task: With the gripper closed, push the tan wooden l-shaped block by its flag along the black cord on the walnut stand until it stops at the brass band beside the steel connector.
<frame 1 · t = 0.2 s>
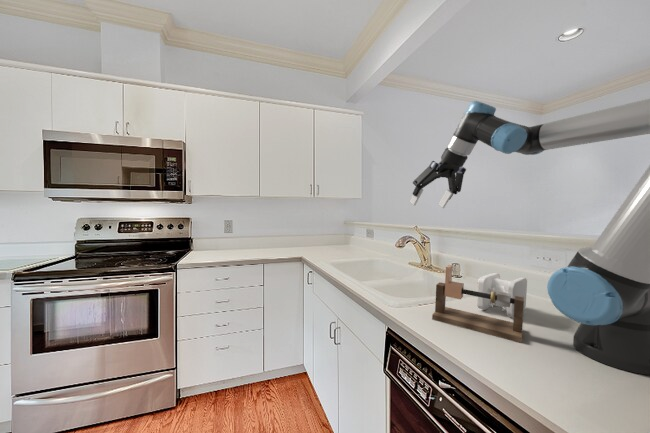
hand: (427, 204, 100), 35 cm above the worktop, tool tilted 35°, fingers open, 13 cm apart
cord stand: (475, 324, 79), on the worktop
cable organizer: (500, 311, 91), on the worktop
tan wooden l-shaped block: (454, 281, 83), point 12 cm above the worktop, slide at 0.0 cm
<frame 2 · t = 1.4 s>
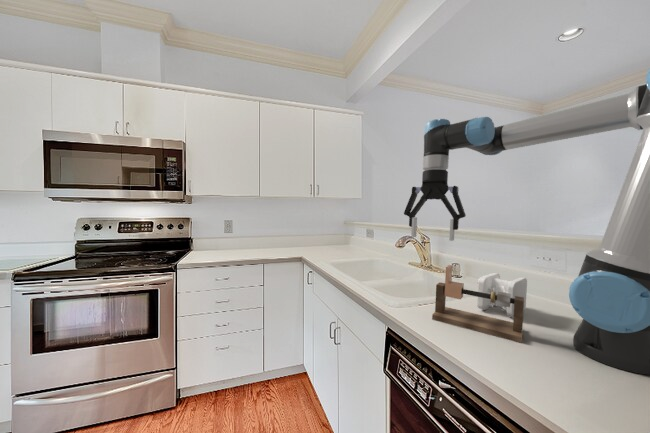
hand: (431, 238, 87), 24 cm above the worktop, tool pointing down, fingers open, 11 cm apart
nothing on the worktop moved.
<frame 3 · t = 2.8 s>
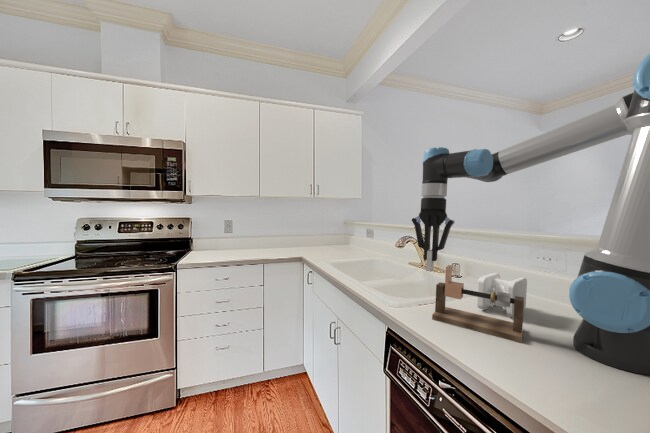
hand: (429, 270, 87), 14 cm above the worktop, tool pointing down, fingers closed
nothing on the worktop moved.
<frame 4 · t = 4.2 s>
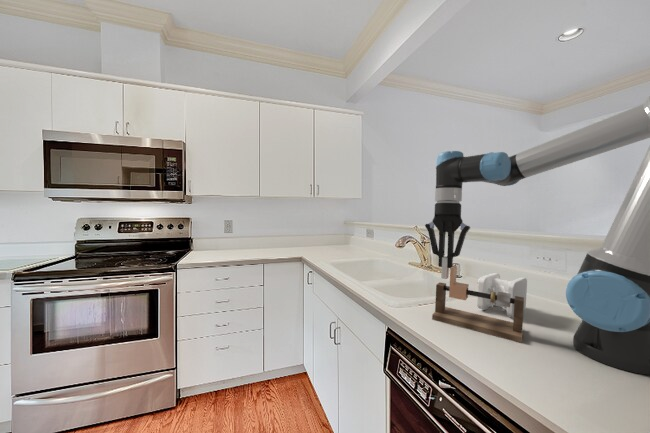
hand: (444, 277, 84), 12 cm above the worktop, tool pointing down, fingers closed
tan wooden l-shaped block: (459, 282, 82), point 12 cm above the worktop, slide at 1.3 cm, touching gripper
everything else where it was.
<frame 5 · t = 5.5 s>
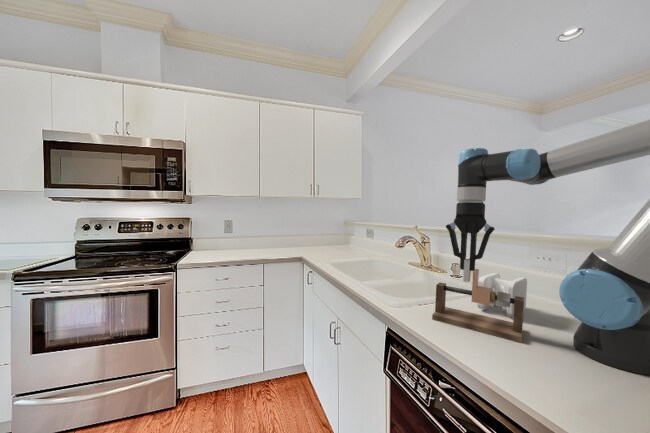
hand: (466, 280, 81), 12 cm above the worktop, tool pointing down, fingers closed
tan wooden l-shaped block: (482, 286, 78), point 12 cm above the worktop, slide at 7.3 cm, touching gripper
everything else where it was.
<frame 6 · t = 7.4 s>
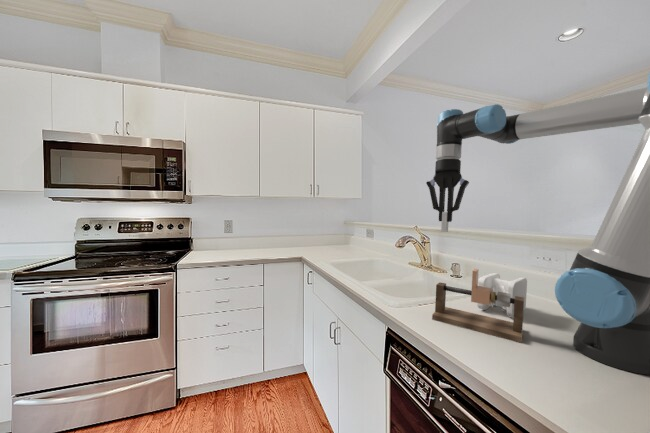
hand: (444, 231, 89), 26 cm above the worktop, tool pointing down, fingers closed
tan wooden l-shaped block: (481, 286, 78), point 12 cm above the worktop, slide at 7.2 cm
everything else where it was.
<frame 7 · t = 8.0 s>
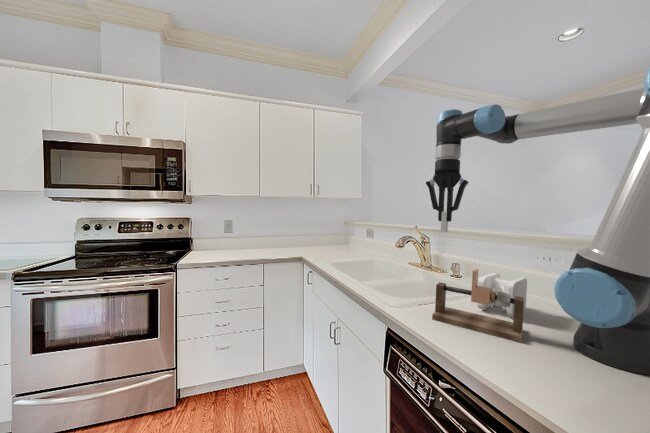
hand: (444, 231, 89), 26 cm above the worktop, tool pointing down, fingers closed
nothing on the worktop moved.
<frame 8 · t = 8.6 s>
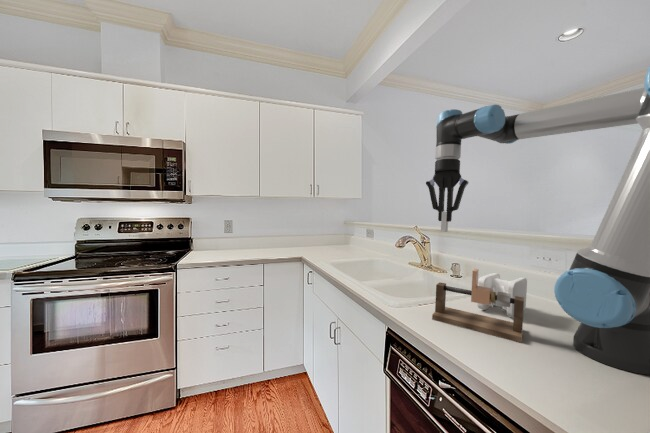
hand: (444, 231, 89), 26 cm above the worktop, tool pointing down, fingers closed
nothing on the worktop moved.
at the end: tan wooden l-shaped block slide at 7.2 cm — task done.
